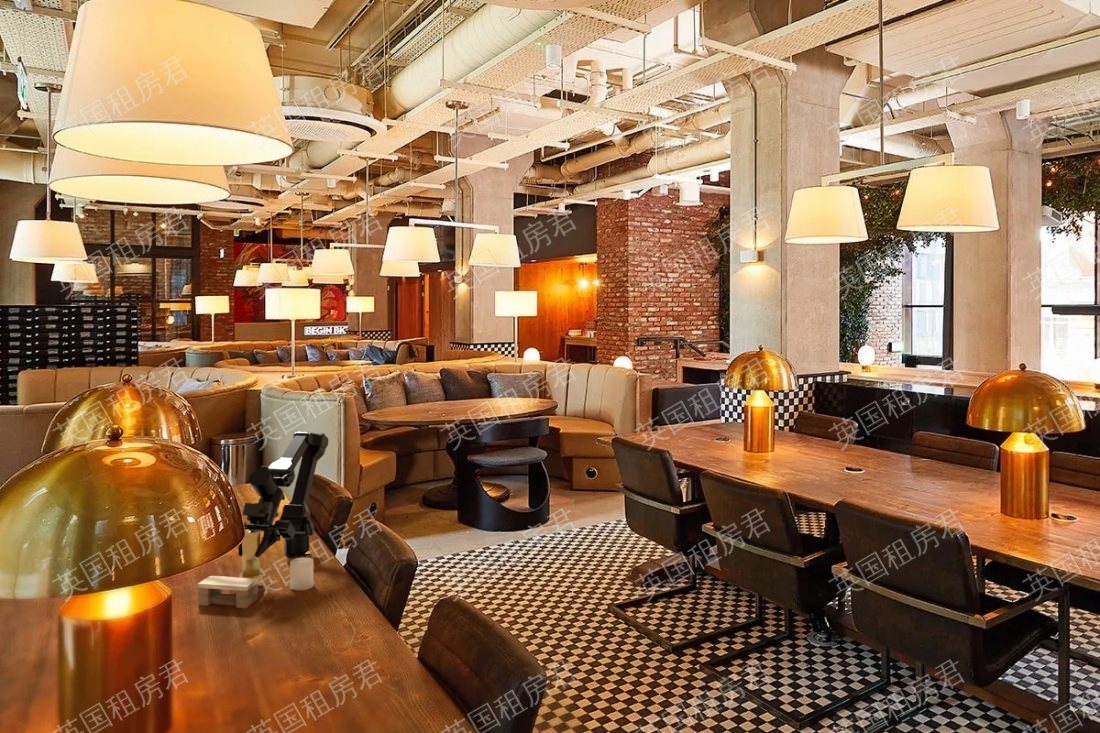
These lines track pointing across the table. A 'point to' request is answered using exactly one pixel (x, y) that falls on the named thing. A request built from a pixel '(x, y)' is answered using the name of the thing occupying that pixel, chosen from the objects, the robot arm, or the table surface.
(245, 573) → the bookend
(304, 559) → the white cylinder
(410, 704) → the table surface
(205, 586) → the bridge
